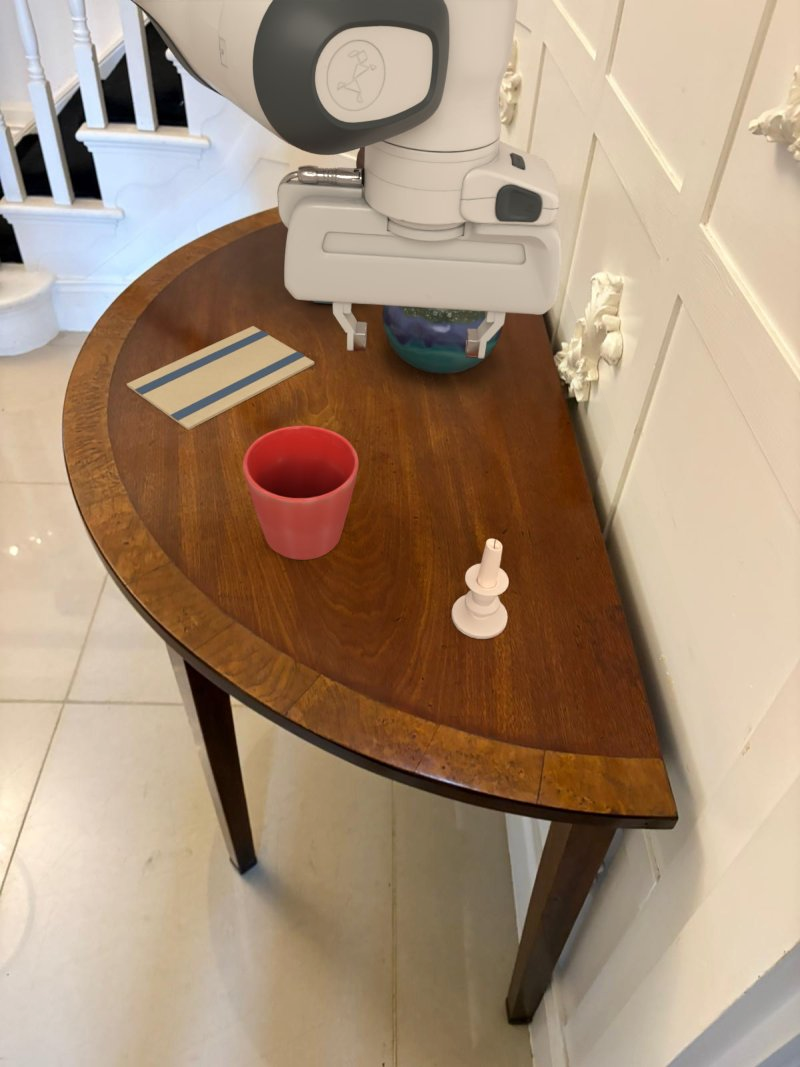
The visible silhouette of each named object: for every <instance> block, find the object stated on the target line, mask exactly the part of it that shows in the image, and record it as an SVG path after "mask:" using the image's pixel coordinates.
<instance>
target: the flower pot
mask: <svg viewBox="0 0 800 1067" xmlns="http://www.w3.org/2000/svg"><path fill="white" fill-rule="evenodd" d="M247 448H248V449H246V451H245V453H244V457H243V459H242V471H243V475H244V479H245V482H246V486H247V489H248V492H249V496H250V499H251V502H252V505H253V508H254V511H255V514H256V517H257V520H258V522H259V525H260V528H261V530H262V533H263V536H264V539H265V541H266V543H267V544H268V546H269V548H271V550H273V552H275V553H277V554H279V555H281V556H282V557H284V558H288V559H291V560H298V561H305V560H306V561H307V560H314V559H317V558H320V557H322V556H325V555H327V554H328V553H330V552H331V551H332V550H334V548H335V547H336V546H337V545H338V543H339V542H340V540H341V537H342V533H343V530H344V526H345V522H346V518H347V515H348V512H349V508H350V504H351V501H352V497H353V492H354V490H355V489H354V488H355V485H356V482H357V476H358V471H359V456H358V454H357V451H356V449H355V448H354V446H353V444H352V443H351V442H350V441H349V440H348V439H347V438H346V437H344V436H342V435H341V434H339V433H338V432H335V431H333V430H330V429H327V428H325V427H319V426H313V425H293V426H292V425H291V426H285V427H281V428H277V429H273V430H271V431H268V432H266V433H264V434H263V435H261V436H260V437H258V438H257V439H256V440H254V441H253V442H252V443H251V444H250V446H249V447H247Z"/></svg>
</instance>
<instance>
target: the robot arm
mask: <svg viewBox="0 0 800 1067" xmlns="http://www.w3.org/2000/svg"><path fill="white" fill-rule="evenodd" d="M130 1H131V2H132V3H133V4H134V5H135V6H137V7H138V8H139V9H140V10H141V11H142V12H143V13H144V14H145V16H146V17H147V18H148V20H149V21H150V23H151V24H152V25H153V27H154V29H155V30H156V31H157V33H158V34H159V36H160V37H161V39H162V40H163V42H164V44H165V45H166V46H167V48H168V50H169V51H170V53H171V55H173V57H174V58H175V60H177V62H178V64H180V66H181V67H182V68H183V69H184V70H185V71H186V72H187V73H188V74H189V76H191V78H193V80H195V81H196V82H198V83H199V84H200V85H202V86H204V87H205V88H207V89H209V90H211V91H212V92H214V93H216V94H217V95H219V96H222V97H223V98H225V99H227V100H228V101H229V102H230V103H232V104H233V105H234V106H236V107H237V108H238V109H239V110H241V111H242V112H244V113H245V114H247V115H248V116H249V117H250V118H252V119H253V120H254V121H255V122H257V123H258V124H259V125H261V126H262V127H264V129H266V130H267V131H269V132H270V133H271V134H273V135H274V136H275V137H277V138H278V139H280V140H281V141H284V143H287V144H288V145H290V146H292V147H294V148H297V149H299V150H301V151H303V152H306V153H309V154H312V155H313V154H314V155H318V156H334V155H341V154H345V153H348V152H352V151H355V150H358V149H359V150H360V148H362V147H365V165H364V169H360V168H356V167H343V166H342V167H319V166H318V165H312V164H311V165H310V164H306V165H300V166H298V168H297V170H294V171H291V172H289V173H287V174H286V175H284V177H282V178H281V180H280V182H279V183H278V186H277V191H276V195H277V212H278V216H279V219H280V220H281V222H282V224H283V225H284V226H285V227H286V228H287V234H286V241H285V252H284V267H283V270H284V271H283V272H284V273H283V278H284V279H283V280H284V281H283V283H284V288H285V289H286V290H287V291H288V293H289V294H290V295H291V296H292V297H293V299H295V300H299V301H309V302H313V301H325V302H333V304H332V315H333V316H334V317H335V319H336V321H337V322H338V323H339V325H340V327H341V329H343V331H344V333H346V350H347V352H348V351H349V352H350V351H351V352H366V349H367V335H368V334H367V330H368V322H367V321H357V318H356V317H355V315H354V314H353V312H352V308H353V307H352V306H353V304H357V305H358V304H359V305H376V306H384V305H390V306H407V307H423V308H439V309H455V310H472V311H485V313H486V318H485V319H484V321H483V322H482V323H481V325H480V326H479V327H478V329H467V340H466V344H465V352H466V354H465V356H466V357H468V358H484V356H485V349H486V343H487V341H489V340H490V339H491V338H492V337H493V335H494V334H495V333H496V332H497V331H498V330H499V329H500V328H501V326H502V325H503V326H504V325H505V321H506V320H505V319H506V315H507V314H520V315H521V314H523V315H524V314H525V315H536V316H537V315H538V316H540V315H545V313H547V312H548V311H549V310H550V309H551V308H553V306H555V305H556V303H557V301H558V300H557V299H558V297H559V296H558V295H559V289H560V282H561V273H562V258H563V256H562V255H563V249H562V248H563V247H562V239H561V236H560V231H559V226H558V224H557V221H556V218H557V215H558V212H559V206H560V191H559V185H558V182H557V178H556V176H555V174H554V172H553V170H552V168H551V166H550V164H549V163H548V162H547V161H546V160H545V159H543V158H541V157H539V156H536V155H534V154H532V153H529V152H527V151H524V150H522V149H519V148H517V147H515V146H512V145H510V144H507V143H506V142H503V141H501V133H502V121H501V120H502V119H501V118H502V117H501V111H500V93H501V87H502V82H503V80H504V77H505V74H506V72H507V70H508V67H509V65H510V61H511V57H512V52H513V45H514V44H513V43H514V38H515V30H516V29H515V28H516V21H517V14H518V13H517V12H518V3H519V1H518V0H130ZM296 178H297V179H296ZM362 184H363V185H362ZM363 186H364V187H363Z"/></svg>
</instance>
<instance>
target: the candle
mask: <svg viewBox="0 0 800 1067" xmlns="http://www.w3.org/2000/svg"><path fill="white" fill-rule="evenodd" d="M502 553H503V544H502V543H501V541H499V540H498V539H495V538H488V539H487V540H486V541H485V545H484V550H483V553H482V557H481V562H480V563H476V564H474V565H471V566H470V567H469V568H468V569H467V571H466V572H465V576H464V579H465V584H466V586H467V587H468V588H469V590H468V592H467V593H466V594H464V595H462V596H460V597H458V599H456V600H455V601H454V603H453V604H452V609H451V620H452V623H453V625H454V626H455V627H456V629H457V630H458V631H460V633H462V634H463V635H465V636H467V637H469V638H473V639H477V640H487V639H492V638H495V637H497V636H499V635H500V634H501V633H502V632H503V631H504V630H505V628H506V627H507V624H508V619H509V618H508V612H507V609H506V607H505V606H504V604H503V603H502V602H501V601H500V600H501V599H500V597H499V595H502V594H503V593H505V592H506V590H507V589H508V588H509V583H510V582H509V581H510V580H509V577H508V573H506V572H505V570H503V569H502V568H501V567H500V566H501V561H502Z"/></svg>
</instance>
